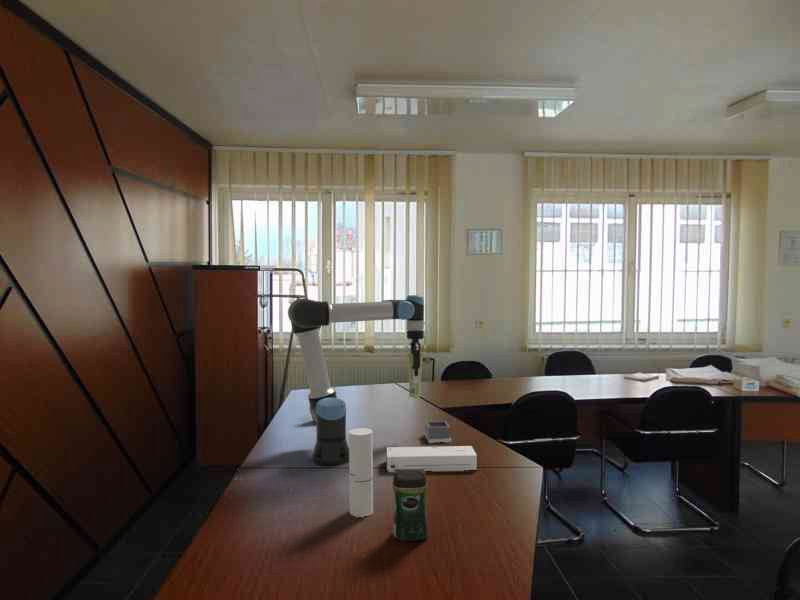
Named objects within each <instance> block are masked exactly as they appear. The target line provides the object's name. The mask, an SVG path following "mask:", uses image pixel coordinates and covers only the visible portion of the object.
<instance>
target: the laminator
mask: <svg viewBox="0 0 800 600" xmlns="http://www.w3.org/2000/svg"><path fill="white" fill-rule="evenodd" d="M385 455H386V456H385V459H386V460H385V463H386V472H387V473H395V470H396V469H424V471H432V472H465V471H466V470H467V471H466V472H469V471H468V470H476V471H477V470H478V454H477V452H476V450H475V448H474V447H473V446H472V445H458V446H456V445H454V446H450V445H449V446H441V445H440V446H396V447H395V446H393V447H391V446H389V447H388V446H387V447H386V448H385ZM464 470H465V471H464Z"/></svg>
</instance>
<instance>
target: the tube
mask: <svg viewBox="0 0 800 600" xmlns="http://www.w3.org/2000/svg"><path fill="white" fill-rule="evenodd" d="M424 355H425V354H424V353H420V368H419V383H413V369H412V367H413V353H411V352H410V353H406V358H407V365H408V366H407V368H408V369H407V370H408V395H409V397H410V398H414V399H415V398H420V397H421V386H422V385H421V384H422V373H423V372H422V371H423V370H422V369H423V361H424V360H423V359H424ZM409 397H408V398H409Z"/></svg>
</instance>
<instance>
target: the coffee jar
mask: <svg viewBox="0 0 800 600" xmlns="http://www.w3.org/2000/svg"><path fill="white" fill-rule="evenodd" d="M426 476H427V475H426V472H425V471H424V469H396V470H395V472H393V478H392V488H393V492H394V497H395V499H394V501H395V502H394V516H393V529H392V530H393V536H394V538H395V539H396V540H398V541H400V540H401V542H419V540H420V541H423V540H425V539H426V538H427V537H428V534H429V533H428V532H429V528H428V518H427V511H426V509H427V508H426V491H427V487H428V481H427V477H426Z"/></svg>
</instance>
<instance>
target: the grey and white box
mask: <svg viewBox="0 0 800 600" xmlns="http://www.w3.org/2000/svg"><path fill="white" fill-rule="evenodd" d="M424 426H425V427H424V429H425V430H424V436H425V437H424V438H427V439H426V440H427V442H428V444H438V443H439V444H441V443H440V442H444V443H452V438H451V426H450V424H449V423H448V422H447V420H437V421H436V420H435V421H434V420H433V421H425V425H424ZM435 442H436V443H435ZM437 442H438V443H437Z"/></svg>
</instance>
